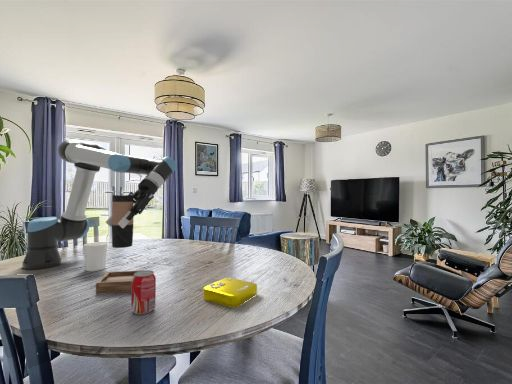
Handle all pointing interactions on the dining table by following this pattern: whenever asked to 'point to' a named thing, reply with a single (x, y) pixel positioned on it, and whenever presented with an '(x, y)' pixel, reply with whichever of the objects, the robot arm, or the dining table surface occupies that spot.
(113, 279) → the tray
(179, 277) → the dining table surface
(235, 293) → the element tile
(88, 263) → the candle holder
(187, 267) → the dining table surface
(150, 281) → the soda can
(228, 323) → the dining table surface
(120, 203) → the travel mug
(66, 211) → the robot arm
